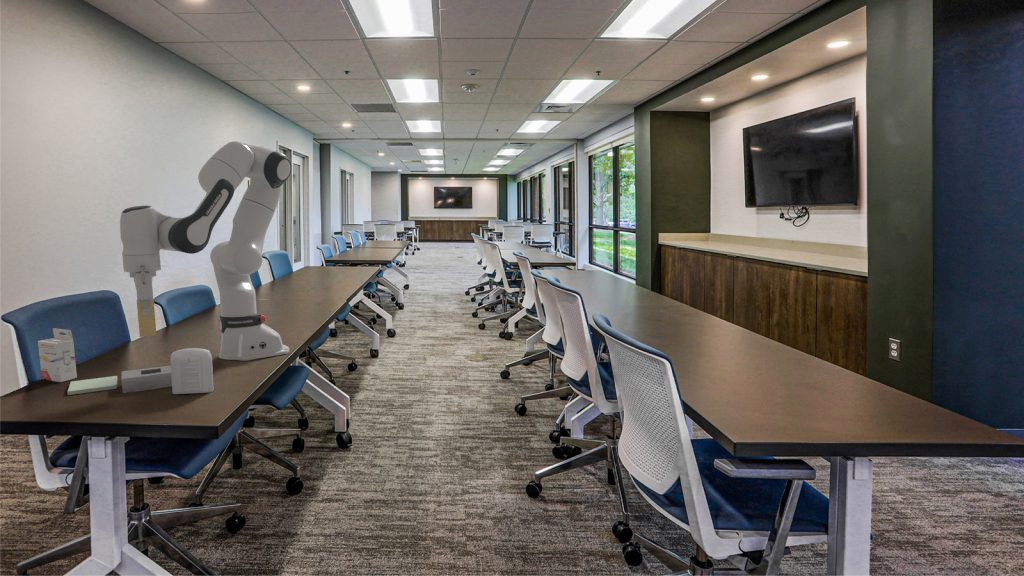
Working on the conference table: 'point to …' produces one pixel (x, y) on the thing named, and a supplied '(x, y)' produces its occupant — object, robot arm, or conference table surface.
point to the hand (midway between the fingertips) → (146, 313)
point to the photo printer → (191, 371)
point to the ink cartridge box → (58, 357)
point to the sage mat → (92, 385)
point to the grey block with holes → (146, 379)
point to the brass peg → (146, 321)
